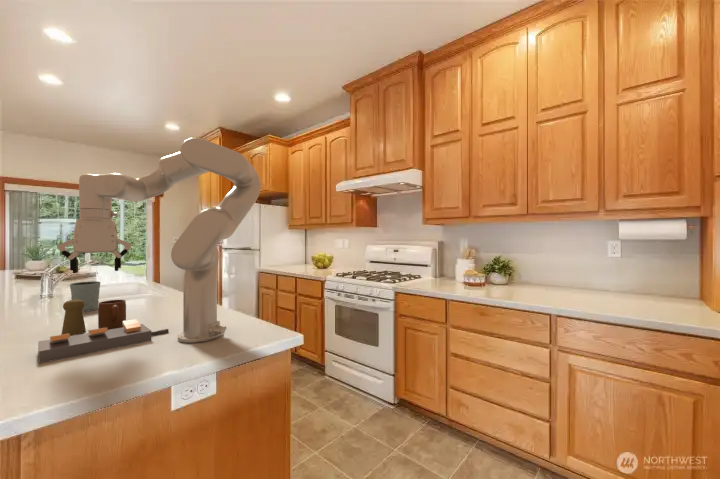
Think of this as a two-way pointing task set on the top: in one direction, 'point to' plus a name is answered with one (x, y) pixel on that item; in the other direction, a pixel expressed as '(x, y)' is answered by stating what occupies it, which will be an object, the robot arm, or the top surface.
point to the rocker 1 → (59, 338)
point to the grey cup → (86, 294)
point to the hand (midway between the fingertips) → (96, 271)
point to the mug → (111, 314)
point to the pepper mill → (73, 318)
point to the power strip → (93, 343)
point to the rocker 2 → (131, 325)
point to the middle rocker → (98, 331)
